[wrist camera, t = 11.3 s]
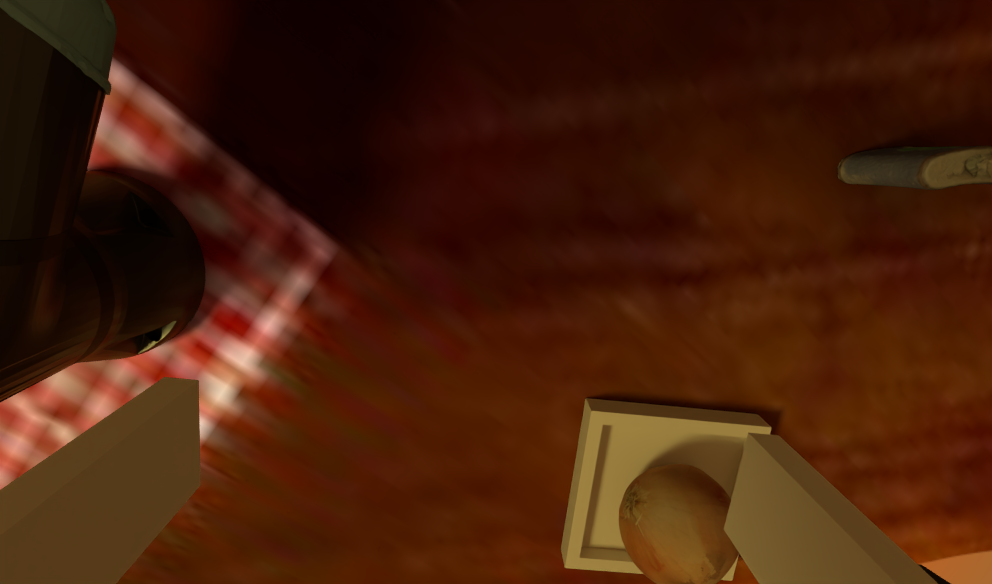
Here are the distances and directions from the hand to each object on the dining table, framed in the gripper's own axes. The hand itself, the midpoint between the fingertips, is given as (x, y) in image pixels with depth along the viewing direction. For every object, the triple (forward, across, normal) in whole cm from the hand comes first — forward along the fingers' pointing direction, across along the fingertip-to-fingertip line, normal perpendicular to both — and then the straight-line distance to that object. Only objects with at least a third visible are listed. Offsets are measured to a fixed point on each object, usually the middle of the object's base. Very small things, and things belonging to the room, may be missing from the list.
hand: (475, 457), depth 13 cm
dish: (+32, +19, -21) cm, 43 cm away
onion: (+32, +19, -21) cm, 42 cm away
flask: (+33, +33, +10) cm, 48 cm away
